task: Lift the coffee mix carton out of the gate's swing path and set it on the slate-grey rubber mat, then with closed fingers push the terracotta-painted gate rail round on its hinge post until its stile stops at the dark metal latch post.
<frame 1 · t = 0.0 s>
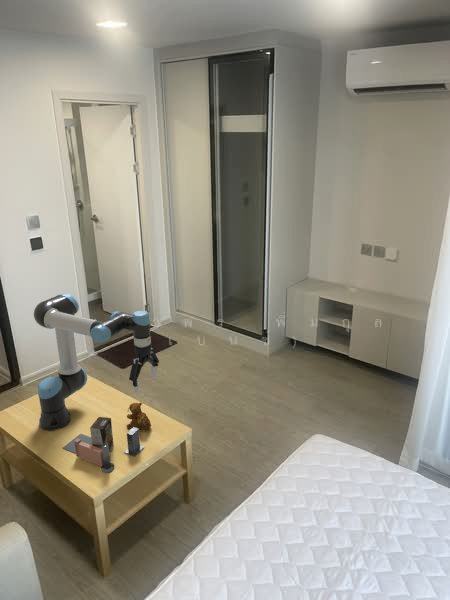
hand: (145, 384, 212), 28 cm above the table, fingers open, 13 cm apart
hinge post: (107, 468, 199), on the table
mat: (79, 444, 215), on the table
gate: (89, 452, 201), point 5 cm above the table, hinge at 90.0°
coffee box: (103, 451, 210), on the table
latch post: (134, 450, 210), on the table
stuffed squirrel: (140, 427, 227), on the table
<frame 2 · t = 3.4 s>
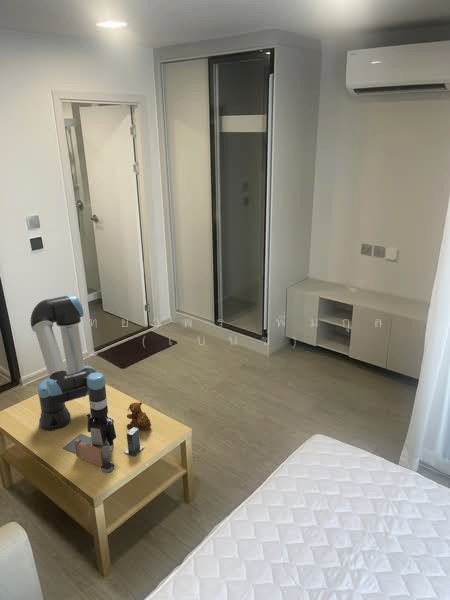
hand: (103, 447, 209), 2 cm above the table, fingers closed on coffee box, 7 cm apart
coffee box: (103, 451, 210), on the table, touching gripper
everything else where it was.
when the fingers open (4 cm above the table, at t = 9.0 s): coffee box drops 1 cm, resting on mat.
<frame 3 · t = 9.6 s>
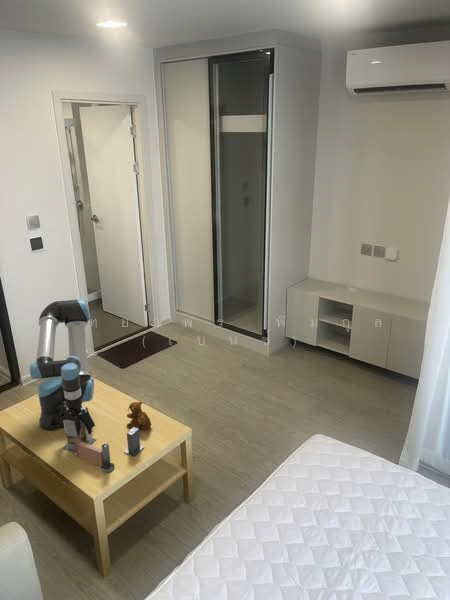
hand: (78, 434, 213), 5 cm above the table, fingers open, 13 cm apart
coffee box: (79, 443, 215), resting on mat
everything else where it was.
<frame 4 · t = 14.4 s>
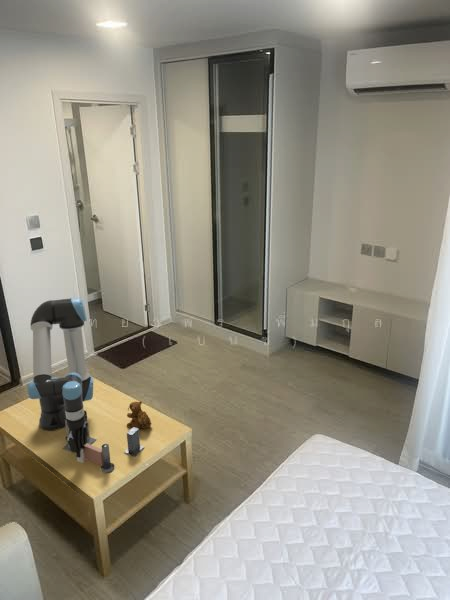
hand: (81, 461, 200), 2 cm above the table, fingers closed
gate: (89, 451, 202), point 5 cm above the table, hinge at 89.0°, touching gripper
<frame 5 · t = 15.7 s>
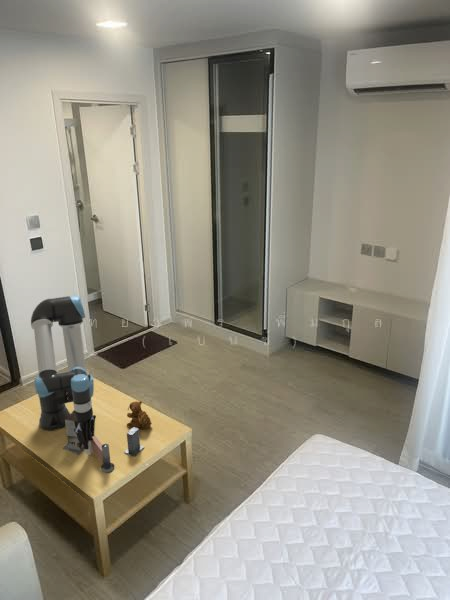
hand: (88, 453, 205), 3 cm above the table, fingers closed
gate: (97, 447, 205), point 5 cm above the table, hinge at 64.2°, touching gripper
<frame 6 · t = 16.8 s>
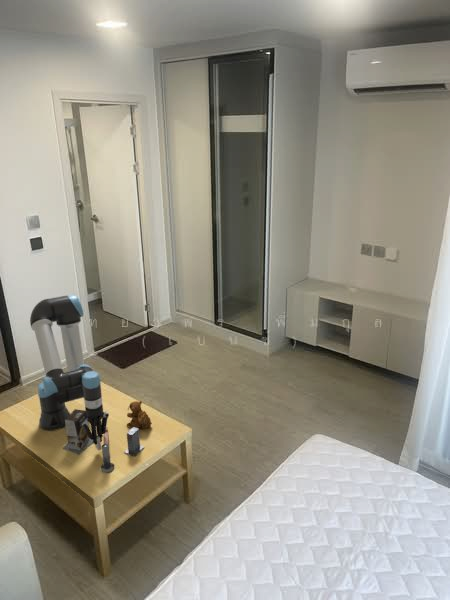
hand: (98, 448, 208), 3 cm above the table, fingers closed
gate: (106, 444, 206), point 5 cm above the table, hinge at 40.8°, touching gripper
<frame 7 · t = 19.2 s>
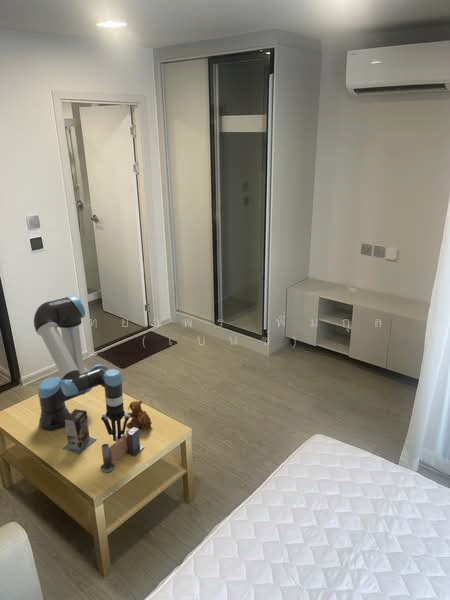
hand: (117, 445, 210), 3 cm above the table, fingers closed
gate: (120, 445, 205), point 5 cm above the table, hinge at -1.1°, touching gripper
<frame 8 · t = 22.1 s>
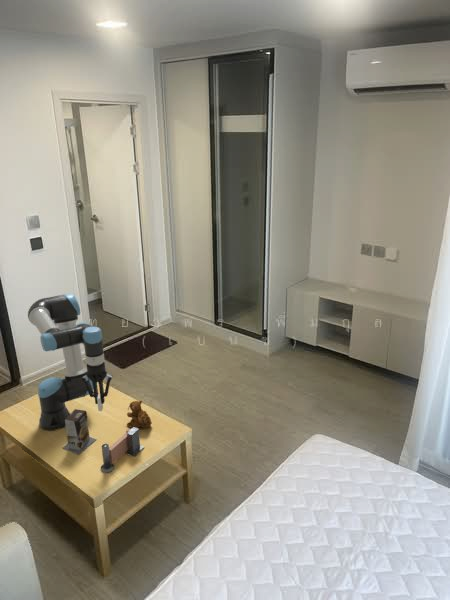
hand: (100, 409, 200), 24 cm above the table, fingers closed
gate: (120, 445, 206), point 5 cm above the table, hinge at -0.8°
at the end: gate at -1° (first picture: +90°); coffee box 0.0 cm from the mat (horizontally); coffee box tilted 0° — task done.
